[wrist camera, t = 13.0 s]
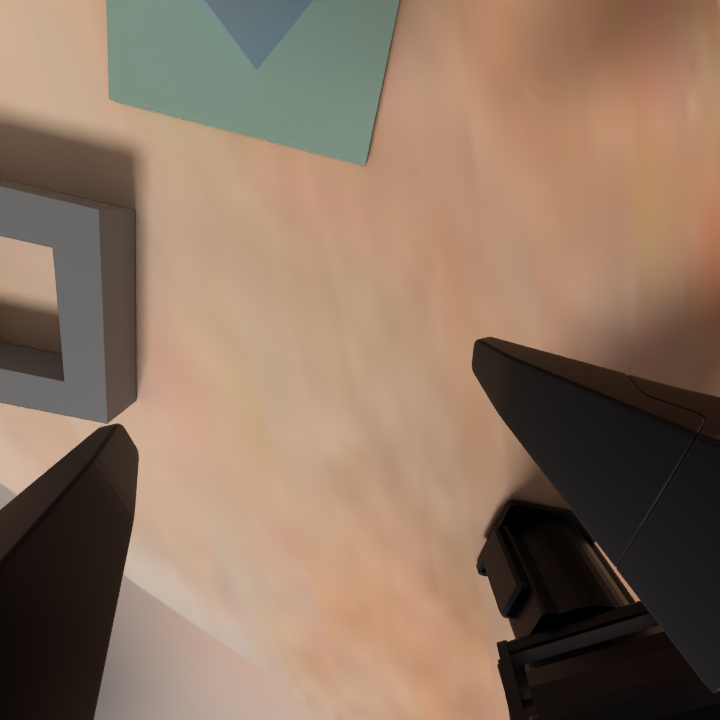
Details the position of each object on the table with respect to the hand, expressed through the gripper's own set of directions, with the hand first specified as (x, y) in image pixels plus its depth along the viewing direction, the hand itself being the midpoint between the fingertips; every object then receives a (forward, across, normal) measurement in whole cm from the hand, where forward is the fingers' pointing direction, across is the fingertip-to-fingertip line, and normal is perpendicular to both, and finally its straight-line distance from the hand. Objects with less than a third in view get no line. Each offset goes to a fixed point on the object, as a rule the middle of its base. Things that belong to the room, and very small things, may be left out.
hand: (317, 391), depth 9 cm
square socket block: (+14, +12, 0) cm, 19 cm away
